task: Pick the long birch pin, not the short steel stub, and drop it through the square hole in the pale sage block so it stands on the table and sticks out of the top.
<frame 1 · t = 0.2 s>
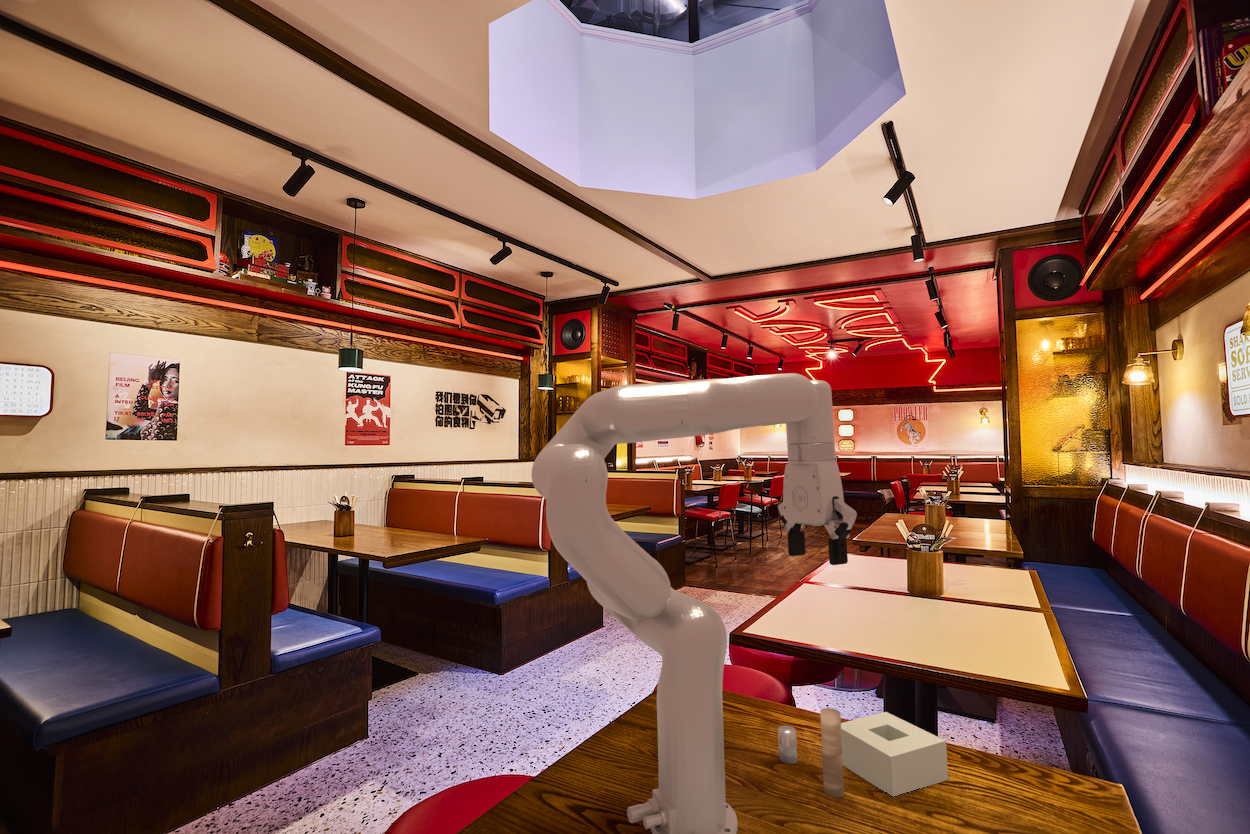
hand: (816, 559, 94), 35 cm above the table, tool pointing down, fingers open, 9 cm apart
birch pin: (833, 791, 90), on the table
steel stub: (788, 759, 100), on the table
hole block: (890, 770, 96), on the table
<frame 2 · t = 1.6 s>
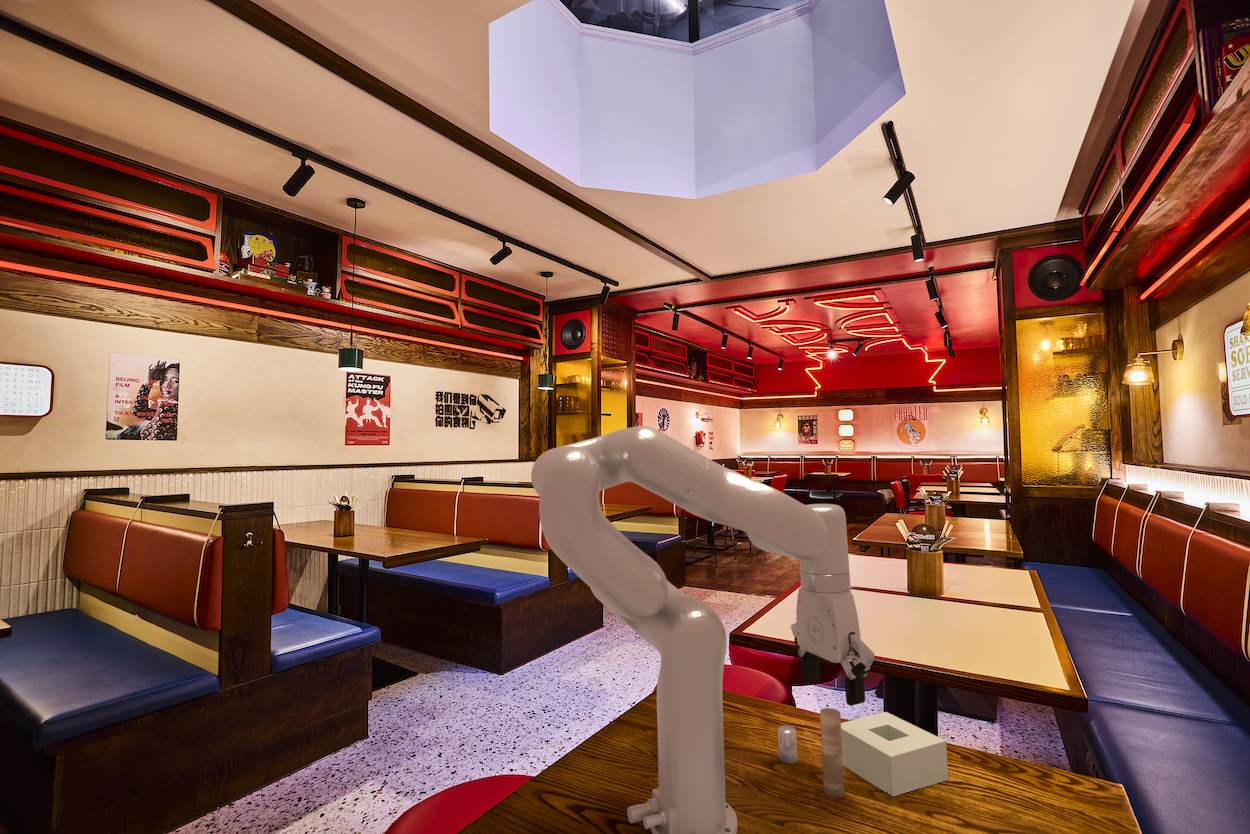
hand: (832, 691, 91), 15 cm above the table, tool pointing down, fingers open, 9 cm apart
nothing on the table moved.
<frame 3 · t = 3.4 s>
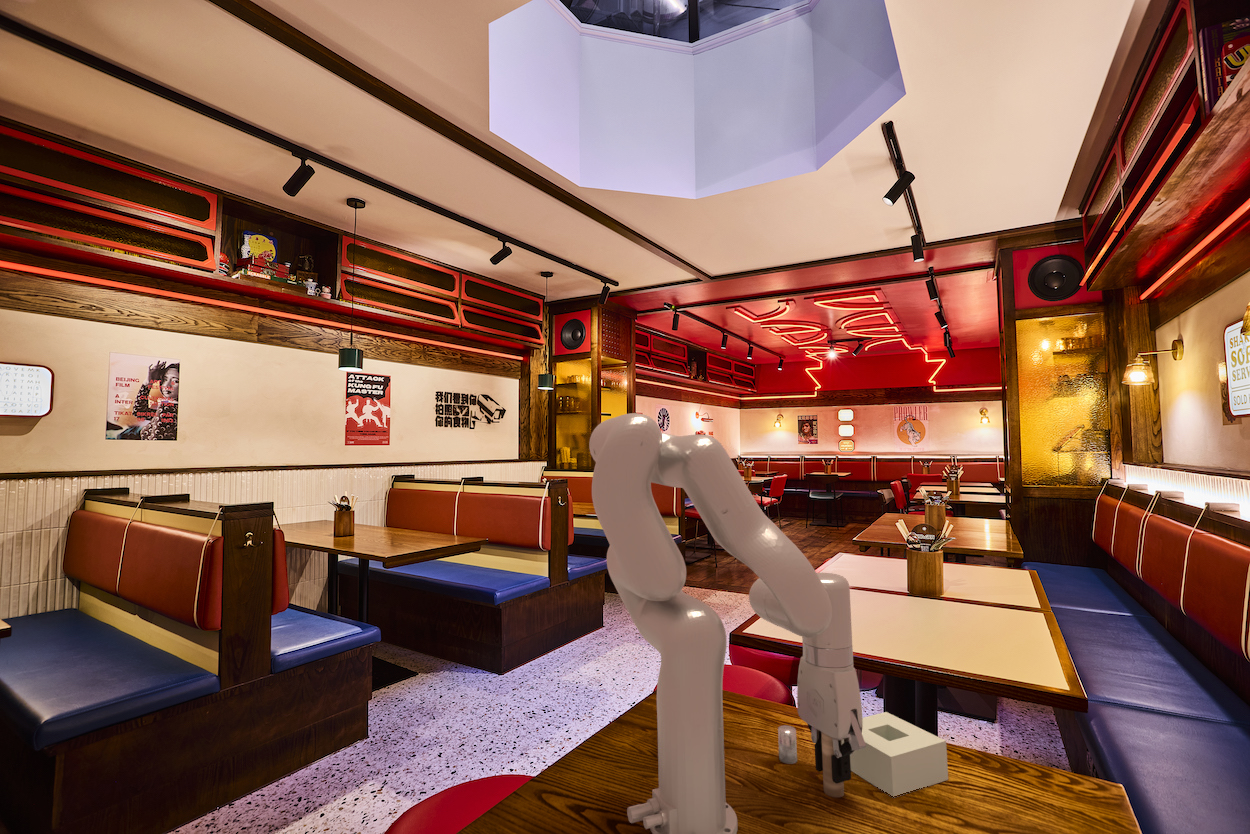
hand: (833, 773, 90), 3 cm above the table, tool pointing down, fingers closed on birch pin, 3 cm apart
birch pin: (833, 791, 90), on the table, touching gripper
everything else where it was.
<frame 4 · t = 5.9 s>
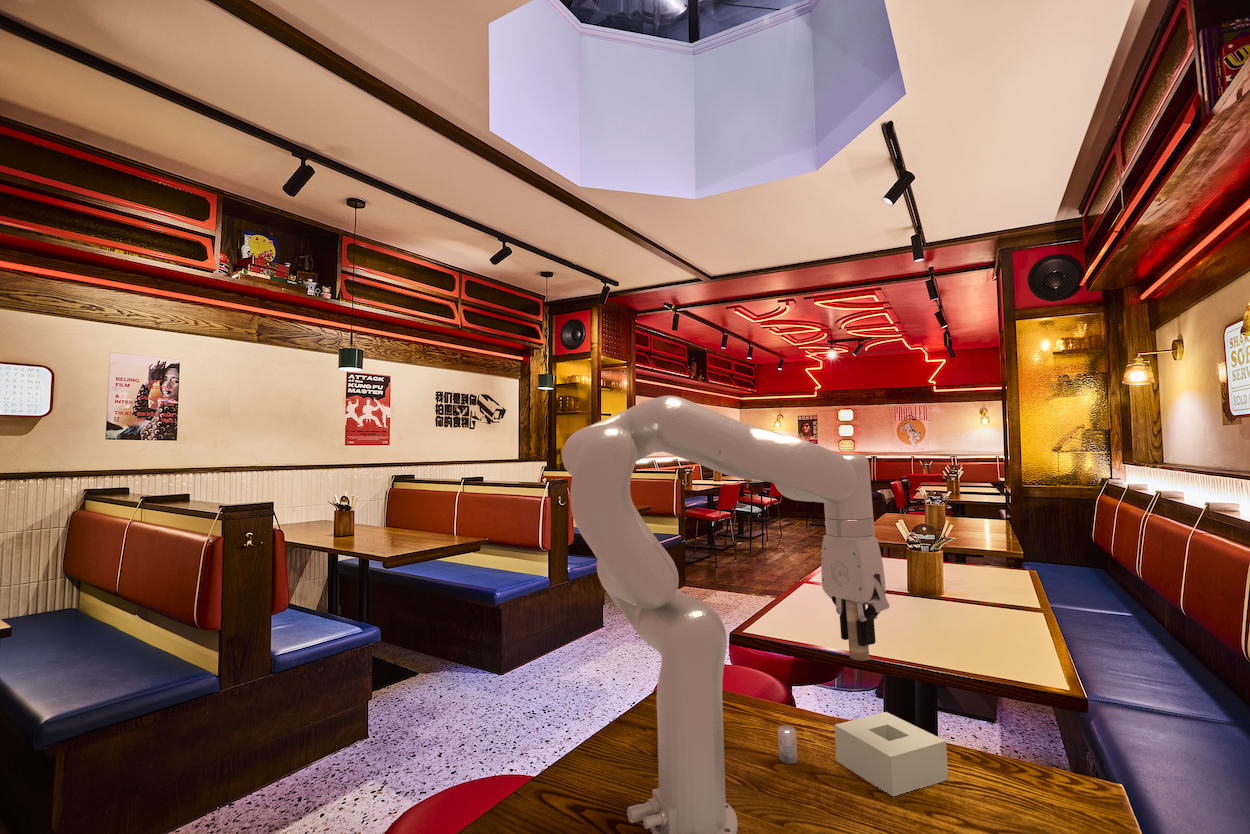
hand: (858, 640, 94), 22 cm above the table, tool pointing down, fingers closed on birch pin, 3 cm apart
birch pin: (859, 657, 94), point 19 cm above the table, touching gripper
everything else where it was.
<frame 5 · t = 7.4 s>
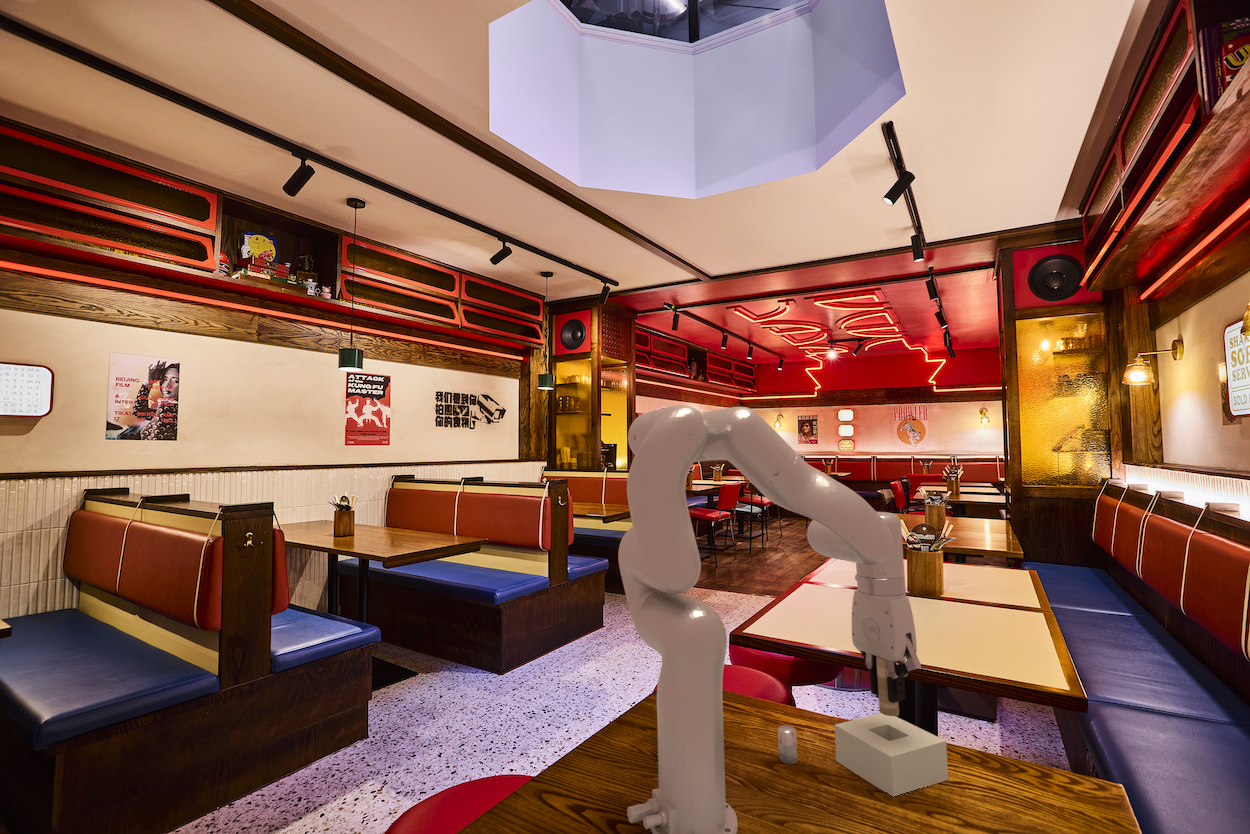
hand: (888, 695, 97), 12 cm above the table, tool pointing down, fingers closed on birch pin, 3 cm apart
birch pin: (889, 712, 96), point 9 cm above the table, touching gripper
everything else where it was.
when the fingers open (7 cm above the table, at t = 8.6 s): birch pin drops 4 cm, resting in hole block.
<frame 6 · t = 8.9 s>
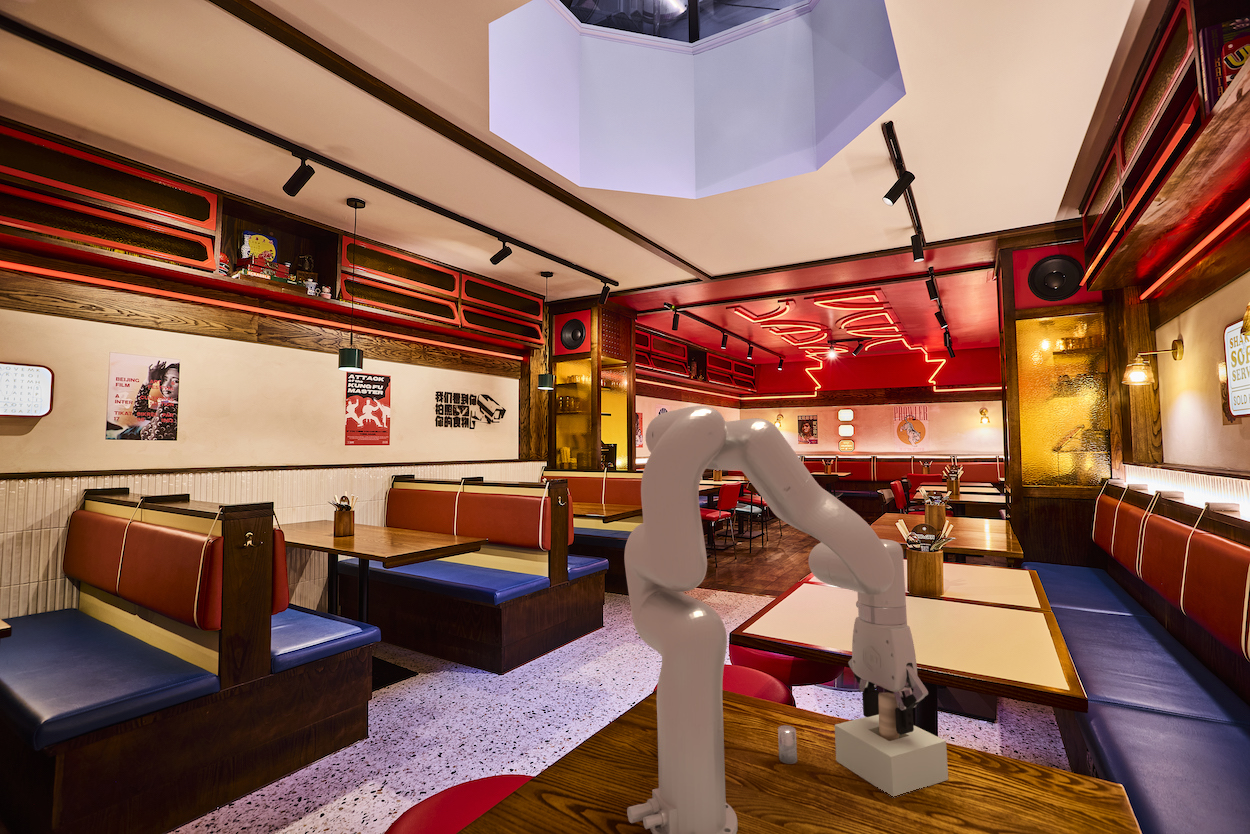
hand: (887, 722, 96), 8 cm above the table, tool pointing down, fingers open, 6 cm apart
birch pin: (889, 769, 96), resting in hole block
everything else where it was.
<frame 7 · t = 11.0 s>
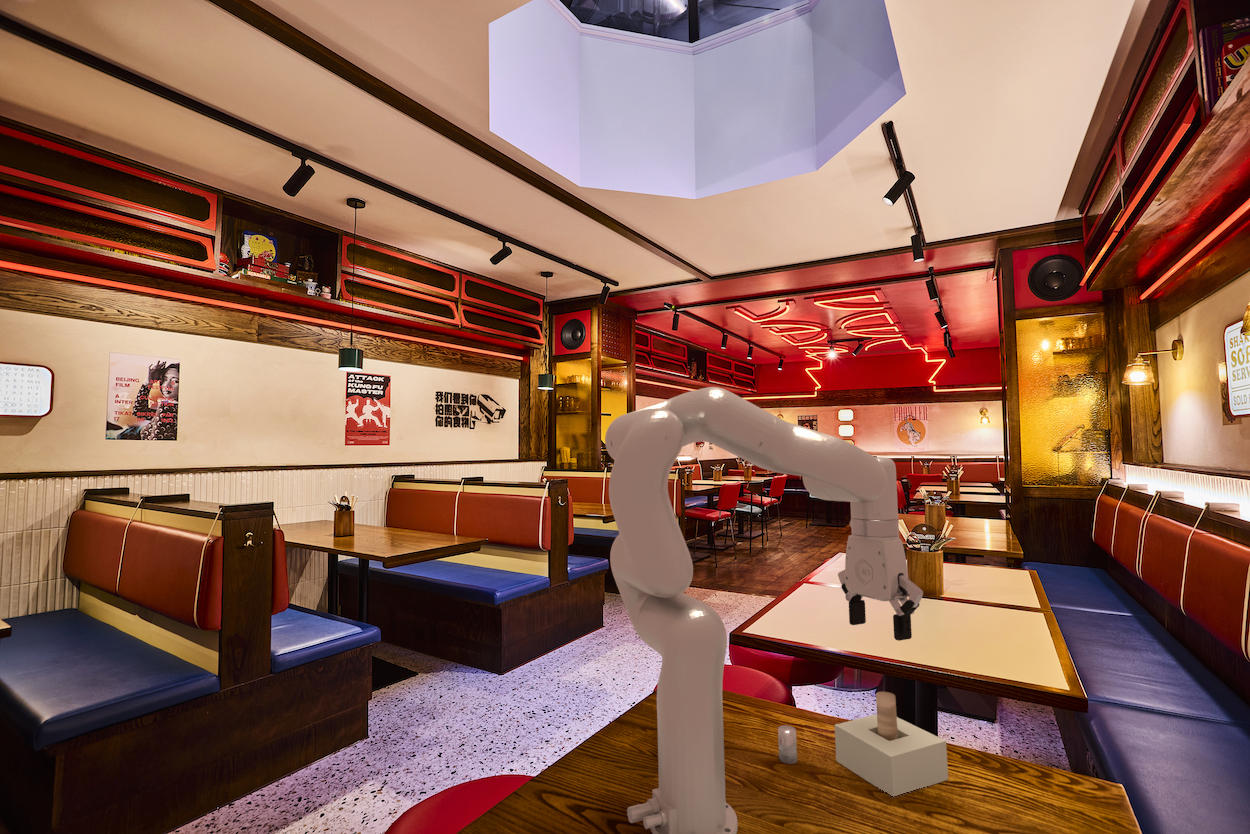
hand: (879, 631, 97), 22 cm above the table, tool pointing down, fingers open, 9 cm apart
nothing on the table moved.
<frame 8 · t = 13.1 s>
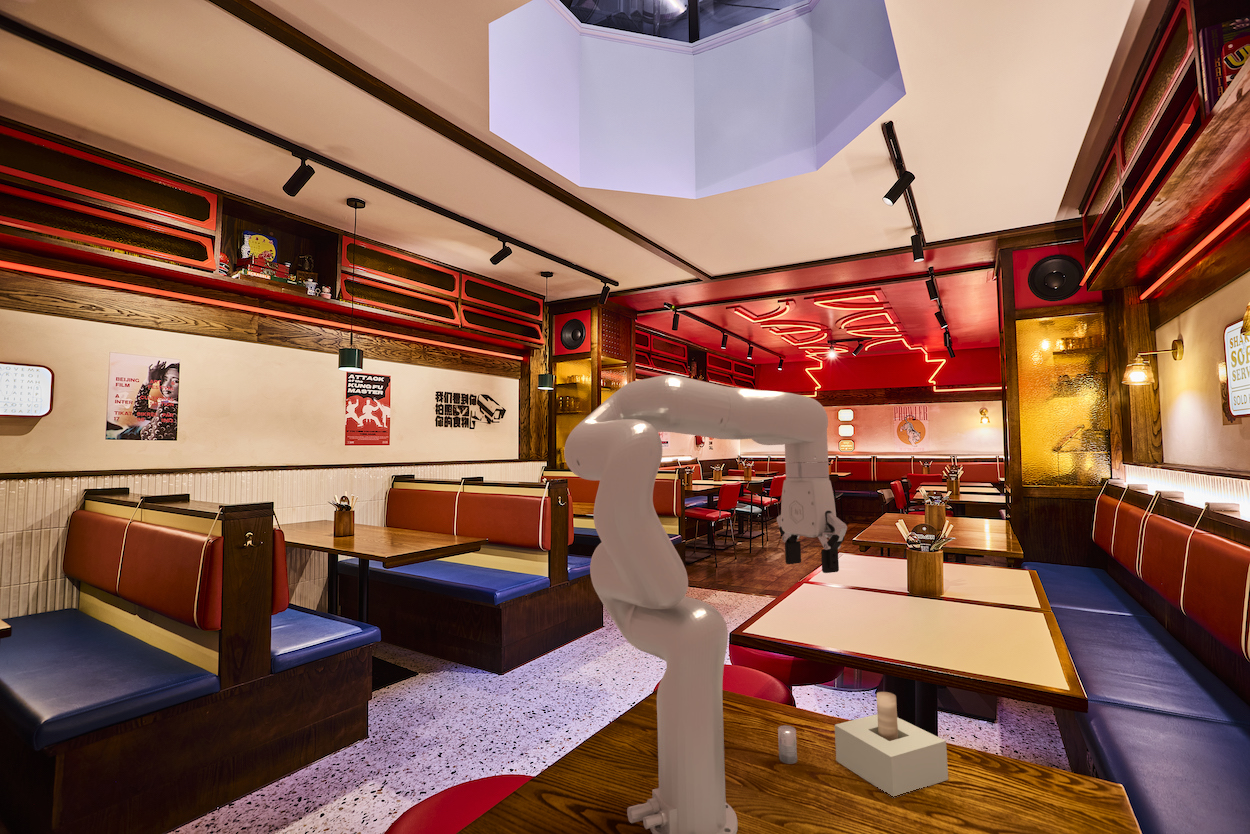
hand: (811, 567, 104), 32 cm above the table, tool pointing down, fingers open, 9 cm apart
nothing on the table moved.
at the end: birch pin 0.1 cm off-centre on the hole block, point 0.0 cm above the hole block's base; birch pin tilted 0°; steel stub moved 0.0 cm from its start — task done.
